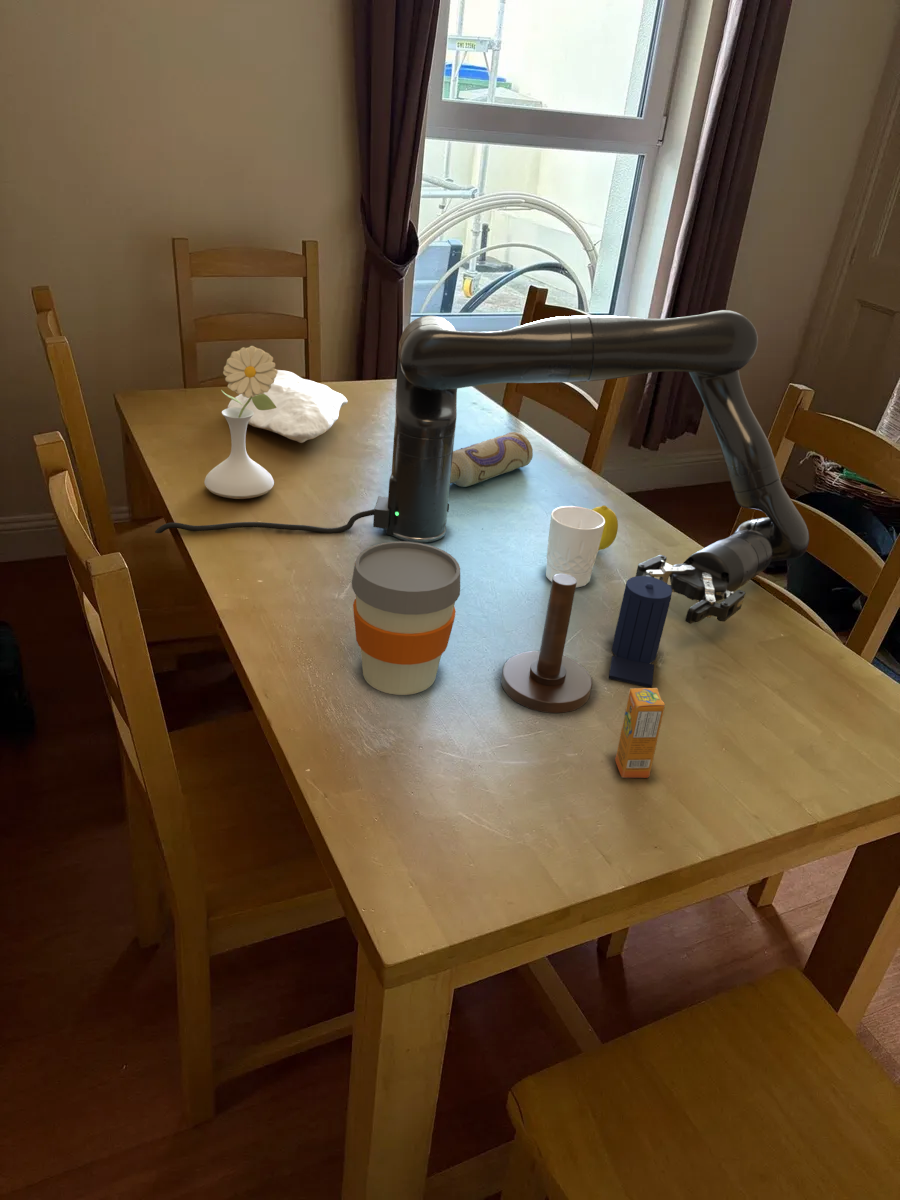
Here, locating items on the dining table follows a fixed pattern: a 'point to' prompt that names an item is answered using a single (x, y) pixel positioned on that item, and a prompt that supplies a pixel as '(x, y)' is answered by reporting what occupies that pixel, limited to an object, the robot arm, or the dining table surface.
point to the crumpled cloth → (296, 407)
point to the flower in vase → (244, 426)
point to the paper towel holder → (550, 661)
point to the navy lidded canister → (639, 630)
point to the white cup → (573, 542)
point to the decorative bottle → (490, 459)
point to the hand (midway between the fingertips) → (661, 603)
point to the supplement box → (639, 733)
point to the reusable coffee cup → (403, 613)
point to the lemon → (607, 526)
